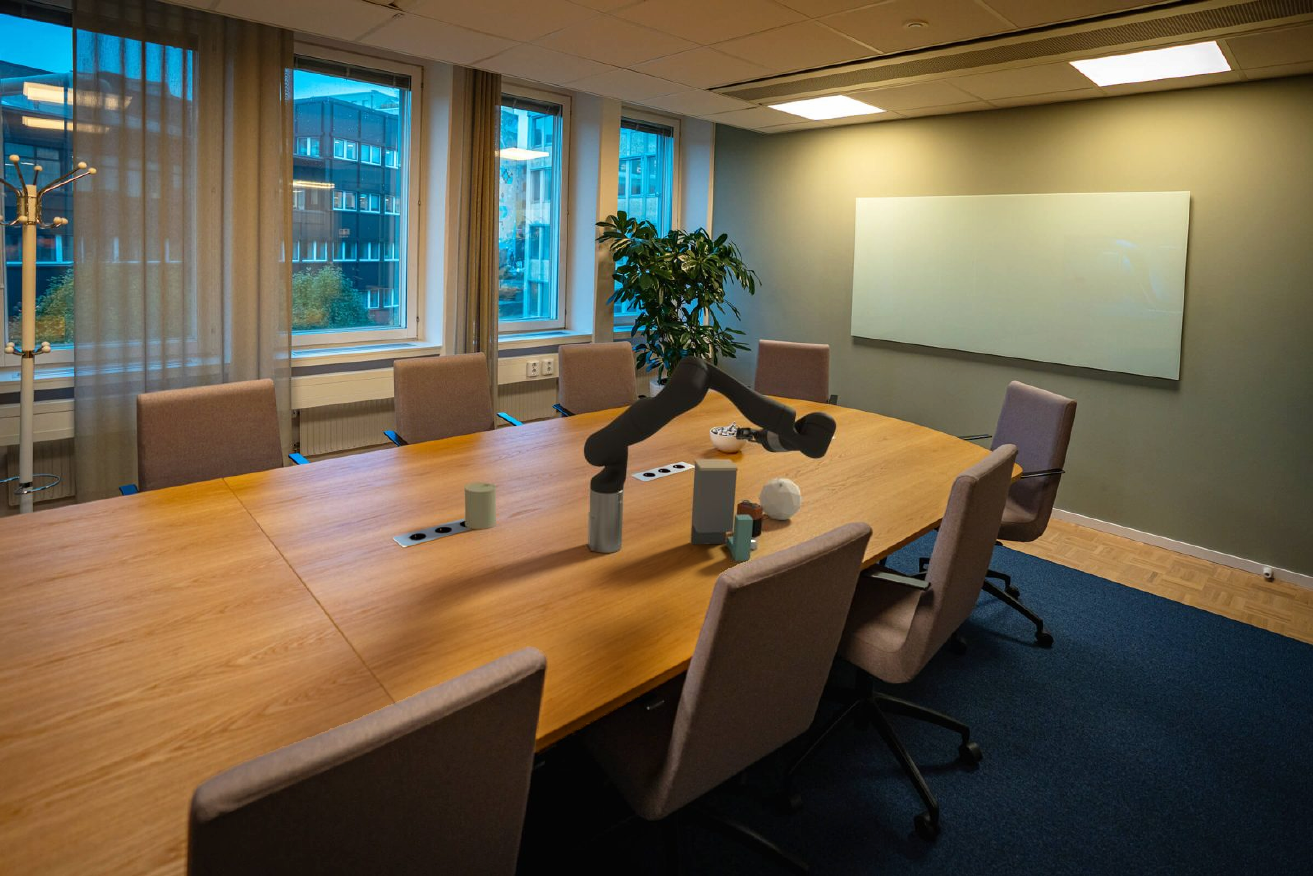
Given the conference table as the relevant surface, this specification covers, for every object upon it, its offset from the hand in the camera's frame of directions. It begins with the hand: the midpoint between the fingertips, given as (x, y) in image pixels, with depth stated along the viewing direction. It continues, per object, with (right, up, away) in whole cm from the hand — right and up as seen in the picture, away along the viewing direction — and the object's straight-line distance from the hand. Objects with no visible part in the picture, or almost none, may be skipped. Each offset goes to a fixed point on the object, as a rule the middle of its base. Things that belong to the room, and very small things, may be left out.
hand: (751, 439), depth 214 cm
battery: (+2, -29, +27) cm, 40 cm away
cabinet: (-10, -31, +15) cm, 36 cm away
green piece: (-3, -32, +12) cm, 34 cm away
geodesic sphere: (+14, -25, +42) cm, 51 cm away
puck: (+1, -31, +16) cm, 35 cm away
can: (-78, -26, +26) cm, 86 cm away
